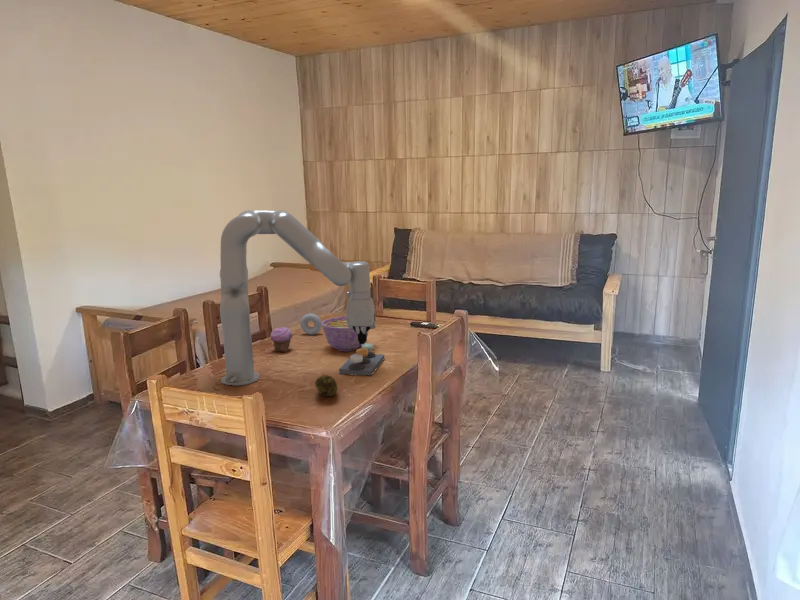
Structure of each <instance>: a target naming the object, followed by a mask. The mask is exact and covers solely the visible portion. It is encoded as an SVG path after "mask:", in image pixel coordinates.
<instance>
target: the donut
mask: <svg viewBox="0 0 800 600" xmlns="http://www.w3.org/2000/svg"><path fill="white" fill-rule="evenodd" d="M299 322H300V324H299V327H300V328H301V330H302V331H303V333H305V334H307V335H311V336H312V335H316V334H319V332H320V331H321V330H322V328H323V325H322V322H323V321H322V319H321V318H320V316H319V315H317V314H315V313H311V312H310V313H307V314H305V315H303V316H302V317H301V318H300V321H299ZM309 322H312V323H313V324H314V325H313V327H311V326H309V324H308V323H309Z"/></svg>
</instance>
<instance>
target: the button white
mask: <svg viewBox="0 0 800 600" xmlns="http://www.w3.org/2000/svg"><path fill="white" fill-rule="evenodd" d="M350 358H351V362H352V363H360V362H362V361H363V355H361V354H355V353H353V354H351V355H350Z"/></svg>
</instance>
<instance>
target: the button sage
mask: <svg viewBox="0 0 800 600" xmlns="http://www.w3.org/2000/svg"><path fill="white" fill-rule="evenodd" d="M361 348H365V349H368V352H373V351H374V344H373V343H371V342H365V343H364V344H362V346H361Z"/></svg>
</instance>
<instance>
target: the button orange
mask: <svg viewBox="0 0 800 600" xmlns="http://www.w3.org/2000/svg"><path fill="white" fill-rule="evenodd" d="M368 352H369V351H368V349H365V348H362V347H360V348H357V349H356V350H355V353H356V354H361V355H363V357H366V356H368Z"/></svg>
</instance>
